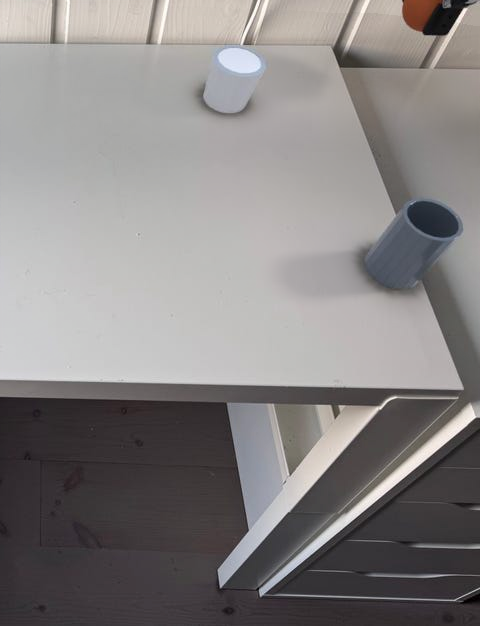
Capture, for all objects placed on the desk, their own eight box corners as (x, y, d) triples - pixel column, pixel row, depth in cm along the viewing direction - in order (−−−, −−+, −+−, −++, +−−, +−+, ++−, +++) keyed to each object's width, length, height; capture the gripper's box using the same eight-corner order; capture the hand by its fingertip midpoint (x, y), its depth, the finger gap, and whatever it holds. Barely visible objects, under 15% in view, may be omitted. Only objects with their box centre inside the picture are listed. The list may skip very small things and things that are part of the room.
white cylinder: (254, 101, 93) (274, 56, 87) (237, 128, 90) (255, 83, 84) (208, 82, 95) (224, 37, 89) (189, 108, 91) (204, 63, 86)
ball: (432, 14, 91) (460, -33, 86) (451, 42, 87) (481, -5, 82) (385, 14, 91) (410, -34, 86) (402, 41, 87) (429, -6, 82)
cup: (403, 253, 78) (449, 198, 71) (422, 294, 75) (473, 241, 67) (353, 252, 78) (394, 197, 70) (370, 294, 74) (415, 240, 67)
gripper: (586, -98, 68) (479, 58, 83) (510, -168, 78) (426, -17, 93) (514, -99, 68) (419, 58, 83) (446, -169, 78) (372, -18, 93)
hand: (424, 17), depth 88 cm, fingers closed on ball, 6 cm apart
